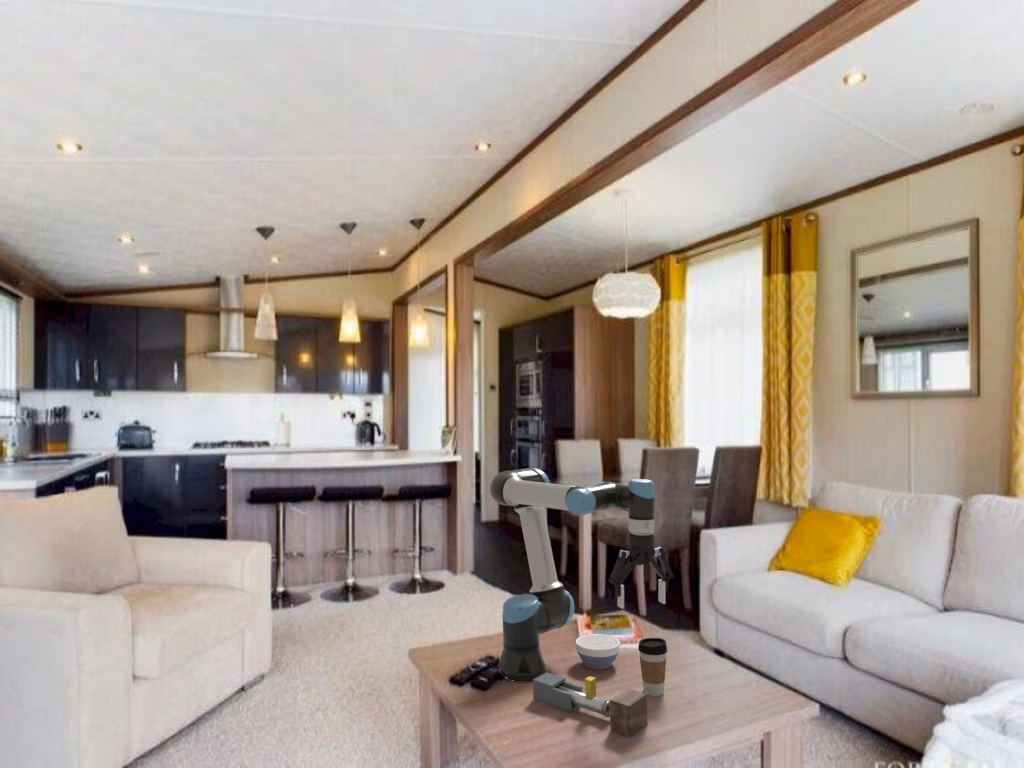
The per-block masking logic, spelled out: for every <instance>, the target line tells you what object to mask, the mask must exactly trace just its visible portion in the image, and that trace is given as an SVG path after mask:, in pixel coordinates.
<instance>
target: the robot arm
mask: <svg viewBox="0 0 1024 768" xmlns="http://www.w3.org/2000/svg"><path fill="white" fill-rule="evenodd" d="M489 486H490V487H489V490H490V495H491V497H492V499H493V500H494V502H495V503H497V504H498V505H502V506H509V507H513V510H514V512H516V513H518V515H519V518H520V524H521V529H522V530H521V531H522V534H523V539H524V545H525V551H526V554H527V560H528V566H529V572H530V577H531V582H532V586H531V588H530V589H529V593H523V594H516V595H512V596H511V597H509V598H507V599H506V600H505V601H504V603H503V605H502V614H501V615H502V616H501V617H502V636H503V637H502V639H503V640H502V641H503V642H502V644H503V647H502V648H503V649H502V652H501V655H500V659H499V662H498V666H499V668H500V669H501V670H502V671H503V672H504V673H505V674H506V677H507V678H508V679H510V680H514V681H513V682H516V681H527V682H533V679H535V678H537V677H539V676H541V675H543V674H544V673H546V663H545V661H544V657H543V655H542V651H541V647H540V635H542V634H544V633H548V632H550V631H553V630H556V629H560V628H562V627H564V626H566V625H568V624H569V623H570V622H571V620H572V619H573V617H574V614H575V602H574V599H573V596H572V595H571V594H570V592H569V591H567V590H566V589H564V584H563V583H562V582H560V581H559V580H558V574H557V570H556V565H555V560H554V556H553V550H552V546H551V545H552V544H551V539H550V535H549V530H548V523H547V519H546V515H545V508H548V509H553V510H562V511H569V512H570V513H571V514H572V515H574V516H582V515H583V516H585V515H588V514H592V513H593V514H594V513H597V512H602V511H603V512H604V511H608V510H613V509H618V510H624V511H628V532H629V533H628V550H623V549H619V550H618V554H617V555H618V556H617V559H616V562H615V563H614V567H613V568H612V571H611V573H610V576H609V577H608V583H610V584H612V585H614V595H615V597H616V598H617V602H616V603H617V604H616V605H617V607H618V608H620V609H625V585H624V584H623V583H624V582H625V580H626V579H627V578H628V576H629V575H630V573H631V572H632V570H633V569H634V568H636V567H637V566H642V565H644V566H647V565H650V566H651V567H652V569H653V570H654V571H655V573H656V574H657V575H658V577H659V578H660V579H657V580H658V584H657V585H658V590H657V591H658V594H657V595H658V599H657V600H658V602H659V603H661V604H663V605H665V604H666V592H668V589H669V585H668V584H669V582H670V581H671V579H674V577H675V575H674V573H673V571H672V569H671V568H672V567H670V565H669V564H670V563H669V562H668V560H667V558H666V555H665V549H664V548H663V547H661V546H658V545H657V546H656V548H655V543H656V542H655V540H656V539H655V538H656V537H655V533H654V532H655V497H656V493H655V484H654V482H653V481H652V480H651V479H646V478H643V479H642V478H632V479H630V480H629V481H628V484H625V483H617V482H613V481H600V482H599V483H597V485H594V486H593V485H592V486H578V485H569V484H561V483H560V484H559V483H551V481H550V479H549V477H548V475H547V474H546V473H545V472H544V471H542V470H541V469H539V468H536V467H534V468H533V467H531V468H530V467H527V468H526V467H525V468H520V469H519V468H518V469H514V470H504V471H501V472H499V473H497V474H496V475H495V476H494V477H493V479H492V480H491V482H490V485H489ZM655 555H656V557H657V558H658V560H659V563H660V565H661V567H662V568H661V567H660V566H659V565H658V563H657V561H656V560H655V558H654V556H655ZM628 557H629V558H628ZM626 559H627V560H626ZM625 563H626V564H625ZM624 564H625V565H624ZM662 569H663V570H662ZM498 666H497V667H498ZM510 680H509V681H510Z"/></svg>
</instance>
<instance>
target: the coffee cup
mask: <svg viewBox="0 0 1024 768" xmlns="http://www.w3.org/2000/svg"><path fill="white" fill-rule="evenodd" d="M637 647H638V648H637V649H638V651H639V662H640V670H641V678H642V679H641V680H642V688H643V693H645V694H647V696H651V697H659V696H662V695H664V693H665V680H666V668H667V667H666V665H667V657H666V655H667V652H668V647H667V641H666V640H665V639H664V638H660V637H646V638H642V639H640V640H639V641H638V646H637Z"/></svg>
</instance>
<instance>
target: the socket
mask: <svg viewBox="0 0 1024 768" xmlns="http://www.w3.org/2000/svg"><path fill="white" fill-rule="evenodd" d="M609 701H610V717H609V719H610V720H609V722H610V725H609V727H610V732H614V733H617V734H619V735H622V736H625V737H627V738H632V737H634V736H635V735H636V734H637V733H639V731H641V730H642V729H644V728H645V727H646V726H648V695H647V694H645V693H644V692H642V691H638V690H634V689H632V688H629V687H627V688H625V689H624V690H622V691H621V692H619V693H617V694H616V695H615V696H613V697H612V698H610V699H609Z"/></svg>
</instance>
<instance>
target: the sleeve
mask: <svg viewBox="0 0 1024 768" xmlns="http://www.w3.org/2000/svg"><path fill="white" fill-rule="evenodd" d="M557 685H559V686H562V687H566V688H569V689H572V690H575V691H578V692H581V693H583V686H582V685H579V684H576V683H574V682H570V681H567V680H566V677H563V676H560V675H556V674H554V673H552V672H548V671H545V673H544V674H543V675H541V676H539V677H537V678H535V679H533V681H532V691H533V693H532V697H533V698H532V700H535V701H534V702H536V701H538V702H537V703H539V702H540V703H539V704H542V703H543V704H542V705H545V706H547V705H548V706H547V707H550V706H551V708H554V709H557V710H559V711H562V712H565V713H567V714H571V713H573V712H574V711H575V710H577V709H578V708H580V707H579V706H576V705H573V704H571V693H569V692H566V691H563V690H560V689H557V688H554V687H556V686H557Z"/></svg>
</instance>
